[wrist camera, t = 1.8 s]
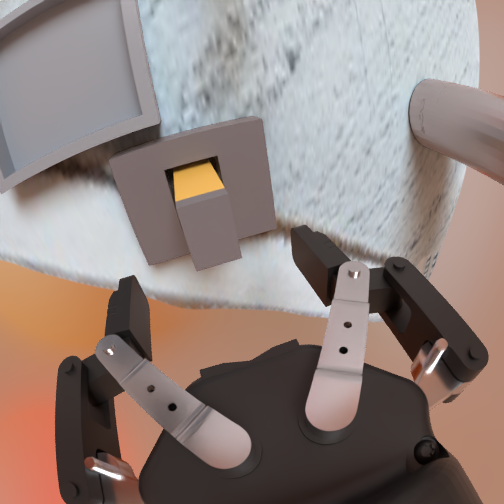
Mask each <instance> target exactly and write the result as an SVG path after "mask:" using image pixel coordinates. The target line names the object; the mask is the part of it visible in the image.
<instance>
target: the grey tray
mask: <svg viewBox="0 0 504 504" xmlns="http://www.w3.org/2000/svg"><path fill="white" fill-rule="evenodd" d="M160 121H161V118H160V114H159V109H158V105H157V101H156V96H155V92H154V87H153V83H152V78H151V74H150V69H149V64H148V59H147V54H146V49H145V43H144V38H143V32H142V27H141V21H140V15H139V9H138V2H137V0H29V1H28V2H26V3H24V4H23V5H21V6H20V7H18V8H17V9H15V10H14V11H12V12H11V13H9V14H8V15H7V16H5V17H4V18H2V19H1V20H0V193H1V194H3V193H4V192H6V191H7V190H9V189H11V188H12V187H14V186H16V185H17V184H19V183H21V182H23V181H24V180H26V179H28V178H30V177H32V176H33V175H35V174H37V173H39V172H41V171H43V170H45V169H47V168H49V167H51V166H53V165H55V164H57V163H59V162H61V161H63V160H65V159H67V158H69V157H71V156H74V155H76V154H78V153H80V152H83V151H85V150H87V149H90V148H92V147H94V146H97V145H99V144H102V143H104V142H107V141H110V140H112V139H115V138H118V137H120V136H123V135H126V134H129V133H132V132H134V131H137V130H140V129H144V128H147V127H150V126H153V125H156V124H160Z"/></svg>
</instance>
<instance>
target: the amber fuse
mask: <svg viewBox="0 0 504 504" xmlns="http://www.w3.org/2000/svg"><path fill="white" fill-rule="evenodd" d="M173 175H174V190H175V203H176V210H177V213H178V217H179V220H180V223H181V226H182V229H183V232H184V235H185V238H186V241H187V244H188V247H189V250H190V253H191V256H192V259H193V262H194V265H195V268H196V271H199V270H203V269H206V268H210V267H213V266H216V265H220V264H223V263H227V262H230V261H233V260H237V259H240V258H242V256H241V251H240V247H239V242H238V237H237V233H236V228H235V223H234V219H233V214H232V209H231V204H230V200H229V195H228V192H227V191H226V189H225V187H224V186H223V184H222V182H221V180H220V179H219V177H218V175H217V173H216V172H215V170H214V168H213V166H212V165H211V163H210V161H209V160H208V158H206V159H202V160H198V161H194V162H191V163H187V164H183V165H180V166H177V167H173Z"/></svg>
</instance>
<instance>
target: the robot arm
mask: <svg viewBox="0 0 504 504" xmlns="http://www.w3.org/2000/svg"><path fill="white" fill-rule="evenodd" d="M409 114H410V123H411V128H412V131H413V133H414V136H415V137H416V139H417V140H418V142H419V143H420V144H422V145H423V146H425V147H427V148H430V149H432V150H434V151H437V152H439V153H441V154H444V155H446V156H448V157H450V158H452V159H454V160H456V161H459V162H461V163H463V164H465V165H467V166H469V167H471V168H473V169H475V170H477V171H479V172H481V173H482V174H484V175H487V176H488V177H490V178H492V179H493V180H495V181H497V182H499V183H500V184H502V185H504V96H501V95H497V94H494V93H491V92H488V91H484V90H480V89H477V88H473V87H469V86H465V85H460V84H456V83H451V82H446V81H441V80H435V79H425V80H423V81H421V82H420V83H419V84H418V85H417V86H416V88H415V90H414V92H413V94H412V97H411V102H410V111H409ZM291 245H292V256H293V259H294V262H295V264H296V266H297V267H298V269H299V270H300V271H301V273H302V274H303V275H304V277H305V278H306V280H307V281H308V282H309V284H310V285H311V287H312V288H313V289H314V291H315V292H316V294H317V295H318V297H319V298H320V299H321V301H322V302H323V304H324V305H325V307H327V306H329V305H331V309H330V314H329V319H328V324H327V328H326V333H325V337H324V341H323V346H318V345H309V344H308V345H299V343H298V341H297V339H294V340H291V341H289V342H286V343H283V344H280V345H278V346H275V347H272V348H271V349H270V350H268V351H266V352H264V353H263V354H261V355H260V356H258V357H256V358H254V359H253V360H250V361H243V362H232V363H222V364H219V365H215V366H212V367H209V368H205V369H201V370H200V374H201V377H200V378H199V379H197V380H196V381H194V382H193V383H192V384H191V385H189V386H188V387H187V388H186V389H185V390H184V389H182V388H181V387H180V386H179V385H177V384H176V383H175V382H173V381H172V380H171V379H170V378H168V377H167V376H166V375H165V374H164V373H162V372H161V371H160V370H159V369H158V368H156V367H155V366H154V365H153V364H152V363H150V362H151V361H152V351H151V334H150V312H149V311H150V310H149V304H148V301H147V298H146V296H145V294H144V292H143V290H142V288H141V286H140V284H139V282H138V280H137V278H136V277H135V276H134V275H132V276H129V277H125V278H122V279H120V281H119V288H118V290H117V291H114V292H113V294H112V295H111V297H110V299H109V304H108V311H107V320H106V328H105V337H104V338H102V339H101V340H100V341H99V342H98V344H97V346H96V349H95V354H93V355H91V356H90V357H88V358H86V359H84V360H83V361H81V360H80V359H79V358H78V357H77V356H70V357H67V358H66V359H64V360H63V361H62V363H61V364H60V366H59V369H58V376H57V390H56V408H55V440H56V441H55V443H56V461H57V472H58V482H59V489H60V494H61V497H62V499H63V500H64V502H65V503H66V504H483V503H482V501H481V499H480V498H479V496H478V494H477V492H476V490H475V489H474V487H473V485H472V483H471V481H470V480H469V478H468V476H467V475H466V473H465V471H464V470H463V468H462V466H461V465H460V463H459V462H458V460H457V459H456V458H455V457H454V456H453V455H452V454H451V453H450V452H448V451H447V450H446V449H445V448H444V447H443V446H442V445H441V444H440V443H439V442H438V441H437V439H436V438H435V436H434V434H433V431H432V427H431V423H430V417H429V411H430V410H431V409H433V408H434V407H436V406H437V405H439V404H440V403H441V402H443V403H449V402H452V401H453V400H454V399H455V398H456V397H457V396H458V395H459V394H460V393H461V392H462V391H463V390H464V389H465V388H466V387H467V386H468V385H469V384H470V383H471V382H472V381H473V380H474V379H475V378H476V376H477V375H478V374H479V373H480V372H481V371H482V370H483V368H484V367H485V366H486V365H487V362H488V352H487V349H486V347H485V346H484V345H483V343H482V342H481V341H480V340H479V338H478V337H477V336H476V334H475V333H474V332H473V331H472V330H471V328H470V327H469V326H468V325H467V324H466V322H465V321H464V320H463V319H462V318H461V316H459V314H458V313H457V312H456V311H455V309H453V307H452V306H451V305H450V304H449V303H448V302H447V301H446V299H445V298H444V297H443V296H442V295H441V294H440V293H439V292H438V291H437V290H436V289H435V288H434V286H433V285H432V284H431V283H430V282H429V281H428V280H427V279H426V278H425V277H424V276H423V275H422V274H421V273H420V272H419V271H418V270H417V269H416V268H415V267H414V266H413V265H412V264H411V263H410V262H409V261H408V260H406V259H404V258H402V257H391V258H389V259H387V260H386V262H385V266H384V267H381V268H372V269H369V268H368V267H367V266H366V265H365V264H363V263H361V262H358V261H351V260H350V259H349V258H348V257H347V256H346V255H345V254H344V253H343V252H342V251H341V250H340V249H339V248H338V247H336V245H335V244H334V243H333V242H332V241H331V240H330V239H329V238H328V237H327V236H326V235H324V234H322V233H320V232H318V231H316V232H312V231H311V229H310V228H309V227H308V226H307V225H302V226H299V227H295V228H292V229H291ZM377 312H378V313H379V315H380V316H381V317H382V319H383V320H384V321H385V323H386V324H387V326H388V327H389V328H390V329H391V331H392V333H393V334H394V335H395V337H396V338H397V340H398V341H399V343H400V344H401V345H402V347H403V348H404V350H405V351H406V353H407V354H408V356H409V357H410V359H411V360H412V362H413V364H412V365H411V374H412V376H413V379H414V382H413V381H411V380H409V379H407V378H404V377H401V376H398V375H395V374H392V373H390V372H387V371H384V370H382V369H379V368H377V367H374V366H371V365H369V364H366V363H364V356H365V348H366V339H367V329H368V318H369V314H370V313H377ZM124 391H126V392H127V393H128V394H129V395H130V396H131V397H132V398H133V399H134V400H135V401H136V402H137V403H138V404H139V405H140V406H141V407H142V408H143V409H144V410H145V411H146V412H147V413H148V414H149V415H150V416H151V417H152V418H153V419H154V420H156V422H158V423H159V424H160V425H161V426H162V427H163V428H164V429H163V431H162V433H161V434H160V436H159V438H158V440H157V442H156V444H155V446H154V448H153V450H152V451H151V453H150V455H149V457H148V459H147V461H146V463H145V465H144V467H143V469H142V470H141V473H140V476H139V480H138V479H137V478H136V476H135V475H134V472H133V470H132V468H131V466H130V465H129V464H128V463H127V462H125V461H123V460H122V459H121V453H120V447H119V441H118V434H117V427H116V417H115V408H114V397H115V396H116V395H118V394H120V393H122V392H124Z"/></svg>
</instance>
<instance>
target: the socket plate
mask: <svg viewBox="0 0 504 504" xmlns="http://www.w3.org/2000/svg"><path fill="white" fill-rule="evenodd" d="M213 156H214V158H215V162H216V167H217V172H218V176H219V179H220V180H221V182H222V184H223V186H224V187H225V189H226V191H227V192H228V195H229V200H230V204H231V209H232V214H233V219H234V223H235V228H236V233H237V237H238V239H242V238H245V237H249V236H252V235H256V234H259V233H263V232H266V231H270V230H274V229H277V225H276V217H275V209H274V201H273V193H272V185H271V178H270V170H269V163H268V156H267V149H266V142H265V135H264V128H263V121H262V119H261V118H258V117H255V116H250V117H245V118H239V119H234V120H230V121H225V122H220V123H216V124H211V125H207V126H203V127H199V128H195V129H191V130H187V131H183V132H180V133H176V134H173V135H169V136H166V137H162V138H159V139H156V140H153V141H149V142H146V143H143V144H140V145H137V146H134V147H131V148H129V149H126V150H123V151H120V152H117V153H115V154H114V155H113V156H112V157H111V158H110V159H109V164H110V167H111V170H112V173H113V176H114V179H115V182H116V185H117V188H118V190H119V193H120V196H121V199H122V201H123V204H124V207H125V209H126V212H127V214H128V217H129V219H130V222H131V224H132V227H133V229H134V232H135V234H136V237H137V239H138V242H139V244H140V246H141V249H142V251H143V253H144V255H145V258H146V260H147V262H148V264H149V266H150V265H154V264H157V263H160V262H164V261H167V260H170V259H174V258H177V257H180V256H184V255H187V254H190V250H189V247H188V244H187V241H186V238H185V235H184V232H183V229H182V226H181V223H180V220H179V217H178V213H177V210H176V203H175V197H174V194H173V190H172V187H171V184H170V180H169V177H168V173H167V170H166V169H170V168H173V167H177V166H180V165H183V164H187V163H191V162H194V161H198V160H202V159H206V158H209V157H213Z"/></svg>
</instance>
